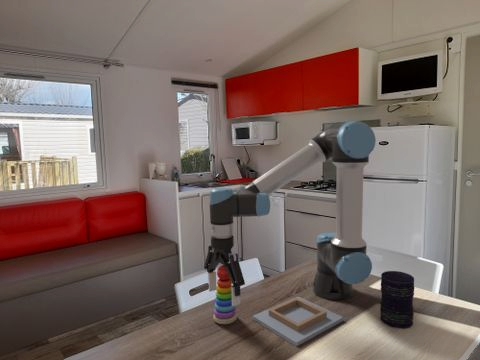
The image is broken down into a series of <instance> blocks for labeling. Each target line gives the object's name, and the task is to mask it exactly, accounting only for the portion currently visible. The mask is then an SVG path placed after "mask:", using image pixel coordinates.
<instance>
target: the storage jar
mask: <svg viewBox="0 0 480 360" xmlns="http://www.w3.org/2000/svg"><path fill="white" fill-rule="evenodd" d="M380 277H381V278H380V292H381V300H380V308H379V309H380V311H379V312H380V317H379V318H380V321H381V322H382V323H383V324H384V325H385V326H387V327H390V328H394V329H399V330H406V329H410V328H411V327H413V324H414V321H413V320H414V306H413V303H414V300H413V299H414V296H415V277H414V276H413V275H412V274H410V273H407V272H403V271H398V270H397V271H396V270H387V271H384V272H382V273H381V276H380Z"/></svg>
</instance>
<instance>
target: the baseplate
mask: <svg viewBox="0 0 480 360" xmlns="http://www.w3.org/2000/svg"><path fill="white" fill-rule="evenodd" d="M252 320H254V321H255V322H257V323H258V324H259V325H260V326H263V327H265V328H266V329H267V330H269V331H271V332H272V333H273V334H276V335H278V337H280V338H282V339H284V340H286V342H289V343H291V345H292V346H293V345H294V346H295V347H298V346H300V345H302V344H304V343H306V342H307V341H309V340H311V339H313V338H314V337H316V336H318V335H320V334H322V333H324V332H325V331H327V330H329V329H331V328H333V327H334V326H336V325H338V324H340V323H342V322H343V321H344V317H343V316H342V315H339V314H337V313H335V312H333V311H331V310H328V309H326V308H325V307H322V306H320V305H318V304H316V303H313V302H312V301H309V300H306V298H303V297H300V296H296V297H293V298H290V299H289V300H287V301H284V302H282V303H280V304H279V303H278V304H277V305H275V306H272V307H270V308H268V309H265V310H263V311H261V312H259V313H256V314H253V315H252Z"/></svg>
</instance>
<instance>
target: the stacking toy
mask: <svg viewBox="0 0 480 360" xmlns="http://www.w3.org/2000/svg"><path fill="white" fill-rule="evenodd" d="M216 277H217V278H218V279H217V280H216V290H215V291H216V292H215V301H214V302H215V303H214V308H213V316H212V318H213V320H214V322H215V323H217V324H219V325H230V324H232V323H234V322H235V321H237V319H238V314H237V309H236V306H232V291H231V286H233V284H232V281H231V279H230V277H229V274H228V272H227V270H226V268H225V267H224V266H223V264H221V265H220V266H219V267H217V269H216Z"/></svg>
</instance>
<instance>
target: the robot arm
mask: <svg viewBox="0 0 480 360" xmlns="http://www.w3.org/2000/svg"><path fill="white" fill-rule="evenodd" d="M375 146H376V135H375V132H374V130H373V128H372V127H370V125H368V124H367V123H365V122H362V121H357V120H356V121H355V120H350V121H344V122H336V123H333V124H331V125H329V126H328V127H326V128H325V129H324V130H322V131H320V132H319V133H318V134H316V136H315V135H314V137H312V138H311V139H310V140H308V144H307V145H305V146H304V147H303V148H301V149H300V150H297V151H296V152H295V153H293V154H292V155H291V156H289V157H288V158H286V159H284V160H283V161H281V162H280V163H279V164H277V165H276V166H274V167H272V168H271V169H270V170H268V171H267V172H265V173H263V174H262V175H260V176H259V177H257V178H256V179H254V180H253V181H251V182H250V183H249V184H247V185H246V186H245V185H244V186H241V187H239V188H237V190H236V191H235V193H234V192H233V191H234V190H233V189H232V188H230V187H216V188H213V189H211V190H210V192H209V219H210V220H209V221H210V222H209V223H210V228H209V229H210V235H211V236H210V245H208V249H207V250H208V251H207V254H206V259H205V262H204V267H203V268H204V270H206V271H207V275H208V276H207V277H208V278H207V279H208V292H210V293H211V292H213V291H217V290H216V287H217V271H216V270H217V269H216V268H218V265H219V264H221V265H223V266H224V267H225V268H226V270H227V272H228V274H229V277H230V279H231V281H232V286H231V291H232V306H235V307H236V306H238V305H241V287H242V286H245V285H246V281H245V279H244V275H243V273H242V268H241V264H240V261H239V255H238V253H233V252H232V249H233V248H234V245H235V241H234V240H235V239H234V237H235V236H234V234H235V231H234V230H235V229H234V218H243V217H250V218H251V217H263V216H264V217H265V216H268V215H269V214H270V210H271V199H270V195H272V194H273V193H275V192H277V191H278V190H280V189H281V188H283V187H284V186H286V185H287V184H289V183H290V182H291V181H293V180H294V179H296V178H297V177H299V176H301V175H302V174H303V173H305V172H307V171H308V170H309V169H311V168H313V167H314V166H315V165H317V164H318V163H320V162H322V163H325V162H327V161H328V160H330V159H332V160H331V163H332V164H333V165H334V166H335V167H336V185H335V186H336V188H335V189H336V190H335V191H336V195H335V196H336V198H335V203H336V204H335V232H323V233H320V234H318V235H317V237H316V262H317V263H316V268H317V269H316V273H315V277H314V279H313V283H312V292H313V294H315V295H316V296H318V297H320V298H322V299H326V300H332V301H333V300H335V301H341V300H346V299H349V298H351V297H352V296H353V293H354V287H353V285H358V284H361V283H364V282H365V280H366V279H368V278H369V276H370V274H371V273H372V270H373V262H372V260H371V259H370V257H369V255H367V242H366V240H365V239H364V238H363V207H364V206H363V204H364V202H363V201H364V199H363V198H364V168H365V167H366V166H367V164H369V161H370V160H369V158H370V155H371V153H372V152H373V151H374V149H375Z"/></svg>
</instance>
